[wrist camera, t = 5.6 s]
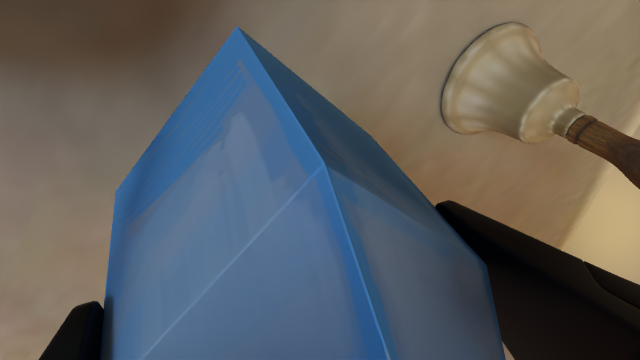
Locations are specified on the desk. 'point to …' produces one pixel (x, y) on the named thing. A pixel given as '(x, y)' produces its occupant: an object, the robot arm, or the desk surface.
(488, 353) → the perfume bottle
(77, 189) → the desk surface
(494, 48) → the hand bell
